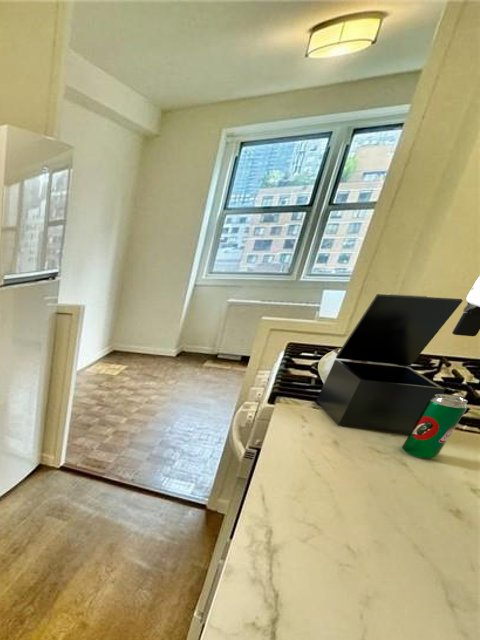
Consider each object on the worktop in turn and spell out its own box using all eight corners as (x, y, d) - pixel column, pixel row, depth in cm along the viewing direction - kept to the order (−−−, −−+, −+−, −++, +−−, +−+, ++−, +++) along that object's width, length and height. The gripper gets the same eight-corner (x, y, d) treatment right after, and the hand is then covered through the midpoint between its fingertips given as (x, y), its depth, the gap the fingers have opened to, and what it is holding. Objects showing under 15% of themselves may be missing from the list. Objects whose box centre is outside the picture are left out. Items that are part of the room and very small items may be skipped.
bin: (417, 436, 103) (445, 389, 98) (338, 425, 108) (360, 379, 103) (385, 409, 116) (409, 366, 111) (315, 401, 121) (335, 359, 116)
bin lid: (463, 300, 98) (455, 288, 101) (377, 295, 103) (372, 284, 106) (410, 365, 110) (404, 353, 113) (336, 358, 115) (332, 346, 118)
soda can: (436, 462, 93) (472, 405, 88) (400, 454, 96) (433, 398, 91) (434, 453, 97) (469, 397, 91) (400, 445, 100) (431, 391, 94)
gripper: (479, 233, 87) (427, 328, 95) (546, 241, 73) (478, 351, 81) (537, 235, 84) (478, 333, 92) (618, 243, 70) (541, 357, 78)
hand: (478, 341), depth 87 cm, fingers open, 9 cm apart
